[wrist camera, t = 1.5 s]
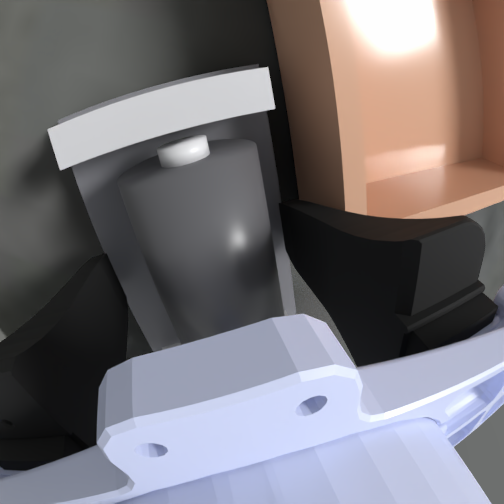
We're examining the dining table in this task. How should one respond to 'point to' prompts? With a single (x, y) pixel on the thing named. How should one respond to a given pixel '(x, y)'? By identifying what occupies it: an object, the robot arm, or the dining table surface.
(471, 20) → the bin
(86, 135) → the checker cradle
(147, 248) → the cell
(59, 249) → the dining table surface
